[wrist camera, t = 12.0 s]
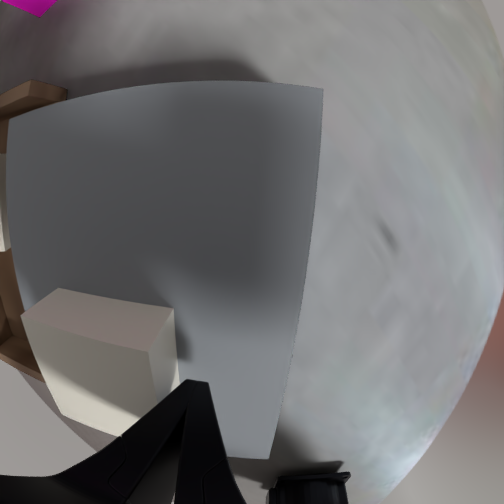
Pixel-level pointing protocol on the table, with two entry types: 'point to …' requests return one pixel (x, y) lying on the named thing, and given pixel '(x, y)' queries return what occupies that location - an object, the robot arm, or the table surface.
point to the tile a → (3, 207)
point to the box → (3, 271)
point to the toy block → (32, 5)
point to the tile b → (103, 356)
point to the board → (179, 224)
